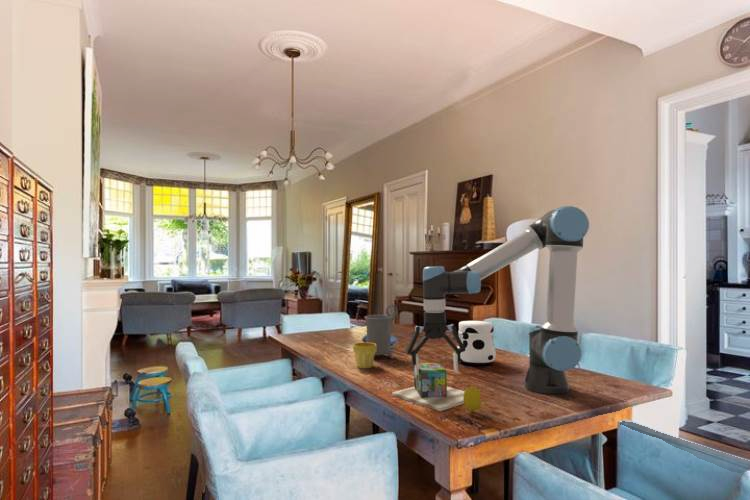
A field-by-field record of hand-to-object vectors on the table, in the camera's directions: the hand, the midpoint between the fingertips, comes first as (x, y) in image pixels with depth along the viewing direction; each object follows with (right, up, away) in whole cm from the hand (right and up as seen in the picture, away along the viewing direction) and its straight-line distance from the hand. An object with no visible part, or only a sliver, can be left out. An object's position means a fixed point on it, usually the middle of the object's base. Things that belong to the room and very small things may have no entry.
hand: (436, 373), depth 157 cm
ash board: (0, -8, 0) cm, 8 cm away
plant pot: (-26, -9, +44) cm, 52 cm away
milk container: (+25, -9, +50) cm, 57 cm away
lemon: (+9, -8, -16) cm, 20 cm away
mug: (-18, -9, +64) cm, 67 cm away
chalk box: (-3, -3, +8) cm, 9 cm away
